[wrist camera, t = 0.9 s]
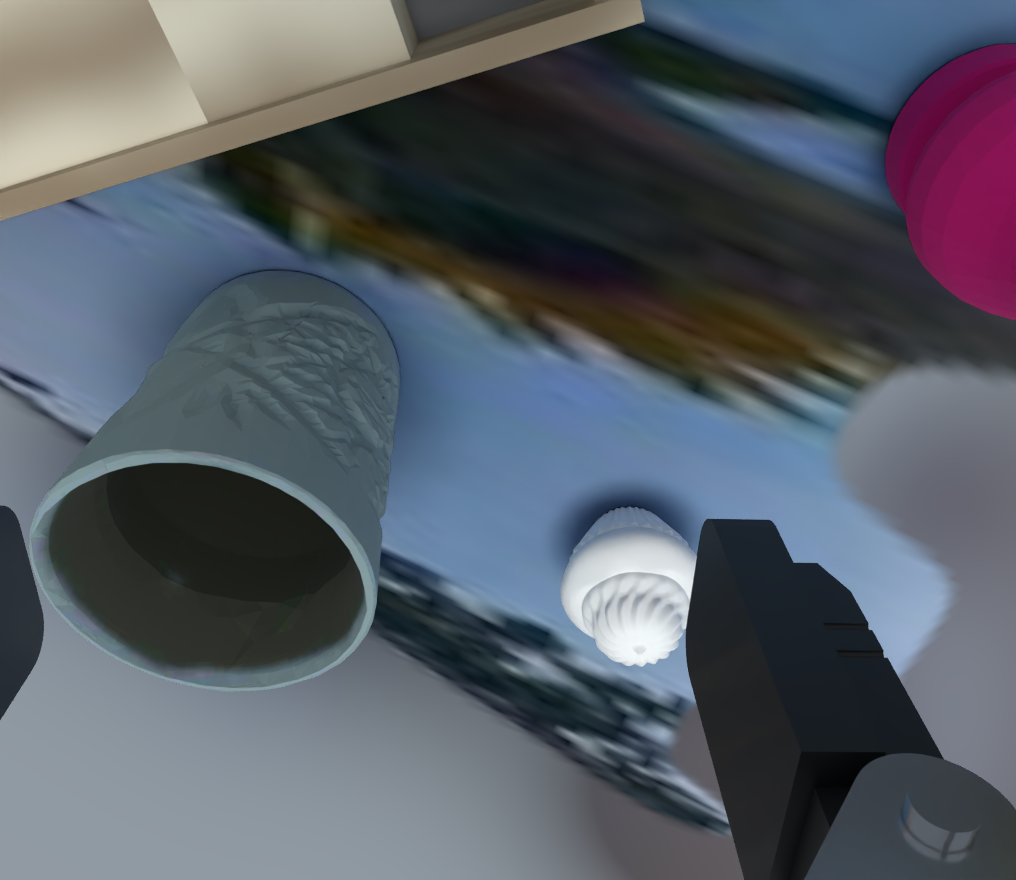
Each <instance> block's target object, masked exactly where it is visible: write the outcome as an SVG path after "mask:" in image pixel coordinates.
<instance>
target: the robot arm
mask: <svg viewBox="0 0 1016 880" xmlns="http://www.w3.org/2000/svg"><path fill="white" fill-rule="evenodd" d="M43 633H44V619H43V612H42V608H41V604H40V600H39V596H38V592H37V589H36V585H35V581H34V577H33V573H32V570H31V566H30V562H29V558H28V554H27V551H26V547H25V543H24V539H23V535H22V531H21V528H20V524H19V521H18V519H17V517H16V515H15V513H14V512H13V511H12V510H11V509H10V508H9V507H6V506H0V720H1V718H2V716H3V715H4V713H5V712H6V710H7V709H8V707H9V705H10V704H11V702H12V701H13V699H14V698H15V696H16V694H17V693H18V691H19V690H20V688H21V686H22V685H23V683H24V682H25V680H26V679H27V677H28V675H29V674H30V672H31V671H32V669H33V667H34V665H35V664H36V661H37V659H38V657H39V653H40V650H41V646H42V641H43ZM686 658H687V667H688V672H689V677H690V681H691V685H692V688H693V692H694V696H695V699H696V703H697V707H698V710H699V714H700V718H701V721H702V725H703V729H704V732H705V736H706V739H707V744H708V747H709V751H710V755H711V758H712V762H713V765H714V769H715V773H716V777H717V780H718V784H719V787H720V792H721V795H722V799H723V803H724V806H725V810H726V814H727V817H728V821H729V825H730V828H731V832H732V836H733V839H734V843H735V847H736V850H737V854H738V858H739V862H740V865H741V869H742V872H743V876H744V880H1016V810H1015V808H1014V807H1013V805H1012V804H1011V803H1010V802H1009V801H1008V800H1007V799H1006V798H1005V797H1004V796H1003V795H1002V794H1001V793H1000V792H999V791H998V790H997V789H995V788H994V787H993V786H992V785H991V784H989V783H988V782H987V781H985V780H984V779H982V778H981V777H979V776H978V775H976V774H974V773H973V772H971V771H969V770H967V769H965V768H963V767H961V766H959V765H956V764H954V763H951V762H949V761H946V760H944V759H943V757H942V755H941V753H940V751H939V750H938V748H937V746H936V744H935V742H934V741H933V739H932V737H931V735H930V733H929V732H928V730H927V728H926V726H925V725H924V723H923V721H922V719H921V717H920V715H919V714H918V712H917V710H916V708H915V706H914V705H913V703H912V701H911V699H910V697H909V696H908V694H907V692H906V690H905V688H904V687H903V685H902V683H901V681H900V679H899V678H898V676H897V674H896V672H895V670H894V669H893V667H892V665H891V663H890V661H889V660H888V658H884V655H883V649H882V647H881V645H880V643H879V642H878V640H877V638H876V636H875V634H874V633H873V631H872V630H869V629H868V622H867V620H866V618H865V616H864V615H863V613H862V611H861V609H860V607H859V606H858V604H857V602H856V600H855V598H854V597H853V595H852V593H851V591H850V590H848V589H847V588H846V587H845V586H844V585H842V584H841V583H840V582H839V581H838V580H837V579H835V578H834V577H833V576H832V575H831V574H829V573H828V572H827V571H826V570H825V569H824V568H822V567H821V566H820V565H819V564H818V563H793V561H792V559H791V557H790V555H789V553H788V551H787V548H786V546H785V544H784V542H783V540H782V538H781V536H780V534H779V532H778V530H777V528H776V526H775V525H774V523H773V522H772V521H770V520H742V519H707V520H706V521H705V522H704V524H703V527H702V530H701V534H700V540H699V546H698V553H697V559H696V566H695V572H694V578H693V585H692V591H691V598H690V604H689V611H688V617H687V625H686Z"/></svg>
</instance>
